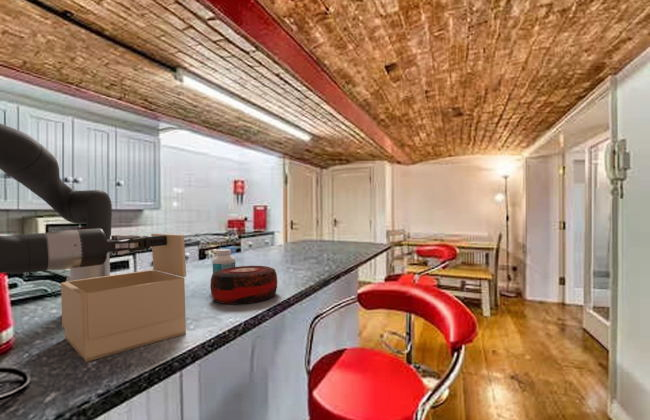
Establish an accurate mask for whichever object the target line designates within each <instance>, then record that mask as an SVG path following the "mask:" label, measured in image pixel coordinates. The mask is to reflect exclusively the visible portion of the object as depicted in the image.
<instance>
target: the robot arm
mask: <svg viewBox="0 0 650 420" xmlns="http://www.w3.org/2000/svg"><path fill="white" fill-rule="evenodd" d="M0 170H1V171H2V172H4V173H5V174H6V175H8V176H10V177H11V179H14V180H15V181H17V182H19V184H21V185H22V186H24V187H25V188H27V189H28V190H29V191H31V192H32V193H33V194H35V195H36V196H37V197H39V198H40V199H41V200H43V201H44V202H45V203H46V204H47V205H49V207H51V209H53V210H54V211H55V212H56V214H58V215H60V217H62V218H63V219H64V220H65V221H67V222H70V223H73V224H77V225H78V224H86V226H85V228H83V229H81V228H80V229H69V230H68V229H64V230H56V231H51V232H42V233H41V232H40V233H38V232H37V233H28V234H27V233H24V234H15V235H0V274H4V273H5V274H13V275H14V274H15V275H16V274H27V273H37V272H45V271H61V270H64V271H65V270H69V276H67V277H66V280H65V281H73V280H81V279H88V278H96V277H103V276H110V275H111V268H110V267H111V265H110V263H111V262H110V261H111V258H110V253H111V254H112V255H116V256H119V255H125V254H127V253H135V252H139V251H143V250H149V249H151V248H152V247H153V246H163V245H167V236H148V235H142V236H140V235H134V234H131V235H130V234H128V235H122V234H121V235H120V234H115V235H112V220H113V219H112V218H113V217H112V216H113V207H112V205H113V204H112V201H111V198H110V195H109V194H108V193H107V192H106V191H104V190H99V189H93V190H92V189H89V190H77V189H74V188H72V187H70V186H69V185H67V184H66V183H65V182H64V181H62V179H61V178H60V166H59V162H58V160H57V159H56V157H55V156H54V155H53V154H52V153H51V152H50V150H48V149H47V148H46V147H45V146H44V145H43V144H41V143H40V142H39V141H38V140H37V139H35V138H34V137H32V136H31V135H29V134H27V133H25V132H23V131H21V130H19V129H16V128H13V127H11V126H8V125H5V124H2V123H0Z"/></svg>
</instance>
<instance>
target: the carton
mask: <svg viewBox="0 0 650 420" xmlns="http://www.w3.org/2000/svg"><path fill="white" fill-rule="evenodd" d="M185 288H186V287H185V277H181V276H177V275H173V274H168V273H164V272H160V271H156V270H153V269H148V270H140V271H133V272H126V273H119V274H113V275H111V274H110V276H103V277H96V278H88V279H81V280H73V281H67V280H65V281H63V282H60V291H61V292H60V295H61V296H60V297H61V325H62V327H63V328H64V333H65V334H64V339H65V340H66V341H67V343H68V344H70V346H71V347H72V348H73V349H74V351H75V352H76V353H77V354H78V355H79V356H80V357H81V358H82V359H83V361H84V363H88V362H91V361H94V360H98V359H102V358H105V357H109V356H113V355H116V354H119V353H123V352H126V351H130V350H134V349H137V347H138V348H141V347H144V345H145V346H147V345H151V344H152V345H153V344H155V343H158V342H163V341H166V340H169V338H170V339H173V338H176V337H181V336H184V335H186V334H187V322H186V321H187V320H186V289H185Z"/></svg>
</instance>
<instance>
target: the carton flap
mask: <svg viewBox="0 0 650 420" xmlns="http://www.w3.org/2000/svg"><path fill="white" fill-rule="evenodd" d="M150 235H151V236H167V245H163V246H153V247H151V253H152V270H155V271H159V272H163V273H167V274H171V275H175V276H179V277H183V278H186V277H187V267H186V265H187V264H186V249H185V247H186V245H185V235H184V234H168V233H167V234H166V233H151V234H150ZM151 236H150V237H151Z"/></svg>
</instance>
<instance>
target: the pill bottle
mask: <svg viewBox="0 0 650 420" xmlns="http://www.w3.org/2000/svg"><path fill="white" fill-rule="evenodd" d="M231 254H232V249H229V248H228V249H227V248H226V249H225V248H223V249H217V250H216V256H215V257H214V258H213V259H212V274H213V273H214V272H216V271H218V270H221V269H225V268H231V267H236V258H235V257H234V256H233V255H231Z"/></svg>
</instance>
